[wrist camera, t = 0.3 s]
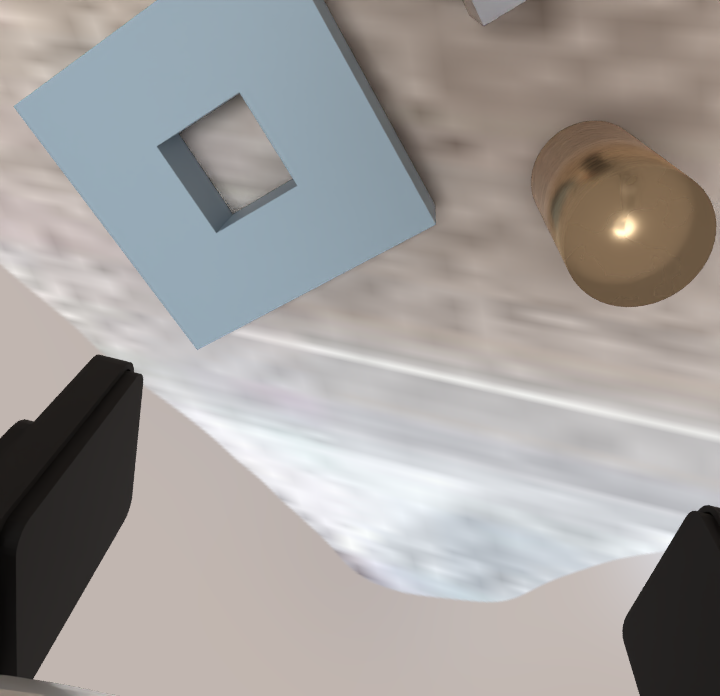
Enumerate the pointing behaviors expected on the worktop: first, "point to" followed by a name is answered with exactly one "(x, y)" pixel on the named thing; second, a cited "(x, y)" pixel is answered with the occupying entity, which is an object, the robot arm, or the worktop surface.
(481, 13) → the square peg
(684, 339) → the worktop surface
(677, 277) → the round bar
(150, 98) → the bore block
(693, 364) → the worktop surface
